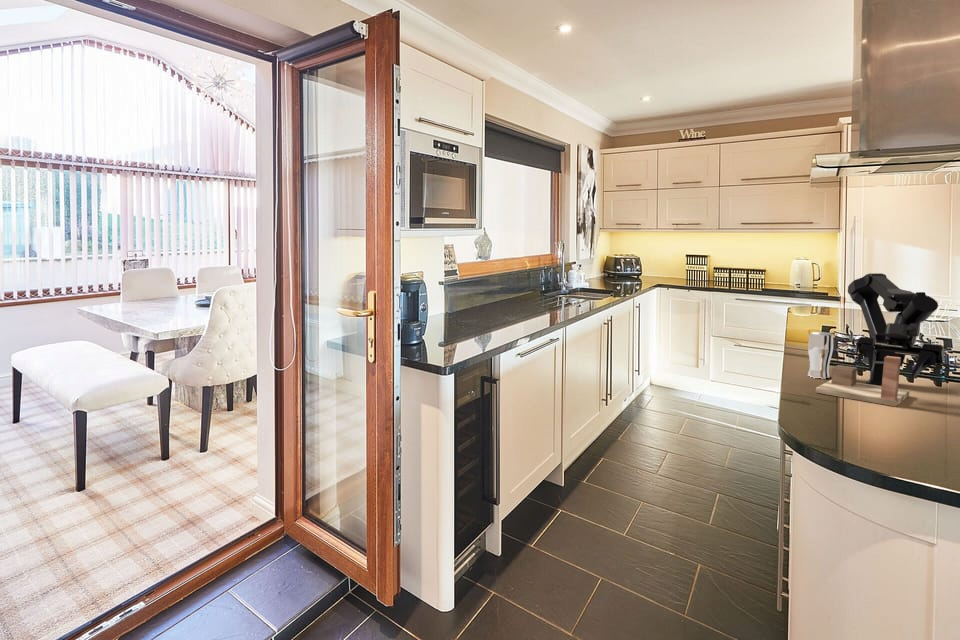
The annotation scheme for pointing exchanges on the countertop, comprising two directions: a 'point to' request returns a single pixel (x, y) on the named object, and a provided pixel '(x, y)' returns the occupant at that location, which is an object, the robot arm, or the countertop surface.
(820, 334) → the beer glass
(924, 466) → the countertop surface
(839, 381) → the walnut cube
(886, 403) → the board with upright post
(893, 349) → the robot arm
